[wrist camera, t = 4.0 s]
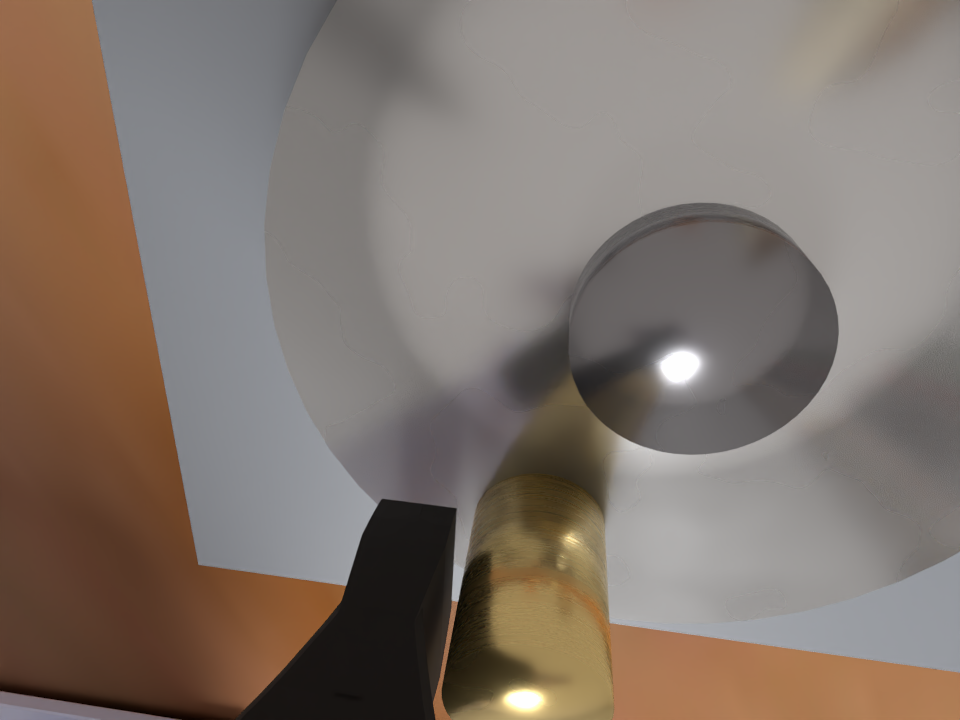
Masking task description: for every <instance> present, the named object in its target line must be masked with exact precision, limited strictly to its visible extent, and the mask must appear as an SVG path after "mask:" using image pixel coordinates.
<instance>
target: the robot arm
mask: <svg viewBox="0 0 960 720" xmlns="http://www.w3.org/2000/svg"><path fill="white" fill-rule="evenodd" d="M456 513H457V508H452V507H445V506H437V505H429V504H421V503H413V502H405V501H397V500H389V499H381V501H380V502H379V504H378V506H377V507H376V509H375V511H374V513H373V514H372V516H371V518H370V520H369V522H368V524H367V526H366V528H365V530H364V532H363V534H362V536H361V540H360V543H359V546H358V549H357V552H356V556H355V559H354V562H353V565H352V569H351V572H350V575H349V578H348V582H347V585H346V589H345V592H344V595H343V599H342V601H341V603H340V604H339V605H338V606H337V608H336V609H335V610H334V612H333V613H332V614H331V615H330V616H329V618H328V619H327V620H326V621H325V622H324V624H323V625H322V626H321V627H320V628H319V629H318V630H317V632H316V633H315V634H314V635H313V636H312V637H311V638H310V640H309V641H308V642H307V643H306V644H305V645H304V646H303V648H302V649H301V650H300V651H299V652H298V653H297V654H296V656H295V657H294V658H293V659H292V660H291V661H290V662H289V663H288V665H287V666H286V667H285V668H284V669H283V670H282V671H281V672H280V673H279V675H278V676H277V677H276V678H275V679H274V680H273V681H272V682H271V683H270V684H269V685H268V686H267V687H266V688H265V689H264V690H263V691H262V692H261V693H260V695H259V696H258V697H257V698H256V699H255V700H254V701H253V702H252V703H251V704H250V705H249V706H248V707H247V708H246V709H245V710H244V711H243V712H242V713H241V714H240V715H239V716H238V717H237V718H236V719H235V720H435V714H434V708H433V700H434V697H435V693H436V689H437V685H438V682H439V678H440V672H441V666H442V660H443V655H444V649H445V643H446V637H447V631H448V625H449V618H450V612H451V603H452V585H453V567H454V549H455V531H456ZM0 720H180V719H174V718H167V717H161V716H155V715H149V714H142V713H136V712H130V711H123V710H117V709H111V708H104V707H98V706H92V705H86V704H79V703H73V702H67V701H60V700H54V699H48V698H41V697H35V696H29V695H23V694H16V693H10V692H4V691H0Z"/></svg>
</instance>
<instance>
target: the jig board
mask: <svg viewBox="0 0 960 720" xmlns="http://www.w3.org/2000/svg"><path fill="white" fill-rule="evenodd" d="M336 1H337V0H92V3H93V9H94V14H95V19H96V24H97V30H98V35H99V40H100V46H101V51H102V56H103V61H104V67H105V72H106V77H107V83H108V88H109V93H110V99H111V104H112V109H113V114H114V120H115V125H116V130H117V136H118V141H119V146H120V151H121V157H122V162H123V167H124V173H125V178H126V183H127V189H128V194H129V199H130V204H131V210H132V215H133V220H134V226H135V231H136V236H137V242H138V247H139V252H140V257H141V263H142V268H143V273H144V279H145V284H146V289H147V294H148V300H149V305H150V310H151V316H152V321H153V326H154V332H155V337H156V342H157V347H158V353H159V358H160V363H161V369H162V374H163V379H164V385H165V390H166V395H167V400H168V406H169V411H170V416H171V422H172V427H173V432H174V437H175V443H176V448H177V453H178V459H179V464H180V469H181V475H182V480H183V485H184V490H185V496H186V501H187V506H188V512H189V517H190V522H191V527H192V533H193V538H194V543H195V549H196V554H197V559H198V565H204V566H211V567H218V568H225V569H232V570H239V571H246V572H253V573H260V574H267V575H275V576H282V577H289V578H296V579H303V580H310V581H317V582H324V583H331V584H338V585H345V586H346V585H347V582H348V578H349V575H350V572H351V569H352V565H353V562H354V559H355V556H356V552H357V549H358V546H359V543H360V540H361V536H362V534H363V532H364V530H365V528H366V526H367V524H368V522H369V520H370V518H371V516H372V514H373V513H374V511H375V509H376V507H377V506H378V505H377V504H376V503H375V502H374V501H373V500H372V499H371V498H370V497H369V496H368V495H367V494H366V493H365V492H364V491H363V490H362V489H361V488H360V487H359V486H358V485H357V483H356V482H355V481H354V479H353V478H352V477H351V476H350V474H349V473H348V472H347V471H346V469H345V468H344V467H343V466H342V464H341V463H340V462H339V461H338V459H337V458H336V457H335V455H334V454H333V453H332V452H331V450H330V449H329V447H328V446H327V444H326V442H325V441H324V439H323V437H322V436H321V434H320V432H319V431H318V429H317V428H316V426H315V424H314V423H313V421H312V419H311V418H310V416H309V415H308V413H307V411H306V409H305V406H304V404H303V402H302V400H301V398H300V395H299V393H298V391H297V389H296V387H295V384H294V382H293V380H292V378H291V376H290V373H289V371H288V368H287V365H286V362H285V358H284V355H283V352H282V349H281V345H280V342H279V339H278V336H277V332H276V329H275V326H274V321H273V315H272V309H271V303H270V297H269V291H268V285H267V279H266V261H265V230H264V222H265V212H266V202H267V193H268V183H269V173H270V166H271V162H272V158H273V154H274V150H275V146H276V142H277V138H278V134H279V130H280V126H281V121H282V117H283V113H284V110H285V108H286V105H287V103H288V100H289V98H290V95H291V92H292V90H293V87H294V85H295V82H296V80H297V77H298V75H299V72H300V70H301V67H302V65H303V62H304V60H305V57H306V55H307V52H308V51H309V49H310V47H311V45H312V44H313V42H314V40H315V38H316V37H317V35H318V33H319V31H320V29H321V28H322V26H323V24H324V22H325V21H326V19H327V17H328V15H329V14H330V12H331V10H332V8H333V7H334V5H335V3H336ZM463 573H464V568H463V567H461V566H459V565H457V564H455V563H454V567H453V585H452V601H458V600H459V595H460V589H461V584H462V578H463ZM609 620H610V623H614V624H621V625H628V626H635V627H642V628H649V629H656V630H663V631H671V632H678V633H685V634H692V635H699V636H706V637H713V638H720V639H727V640H734V641H741V642H748V643H755V644H762V645H770V646H777V647H784V648H791V649H798V650H805V651H812V652H819V653H826V654H833V655H840V656H847V657H854V658H861V659H869V660H876V661H883V662H890V663H897V664H904V665H911V666H918V667H925V668H932V669H939V670H946V671H953V672H960V552H959V553H957V554H955V555H953V556H952V557H950V558H948V559H947V560H944V561H942V562H940V563H938V564H936V565H934V566H932V567H929V568H927V569H925V570H923V571H921V572H919V573H917V574H915V575H912V576H910V577H908V578H906V579H904V580H902V581H899V582H897V583H894V584H891V585H888V586H886V587H883V588H880V589H877V590H875V591H872V592H869V593H866V594H864V595H861V596H858V597H855V598H853V599H849V600H845V601H841V602H838V603H834V604H830V605H826V606H823V607H819V608H815V609H811V610H807V611H803V612H797V613H792V614H786V615H780V616H774V617H769V618H763V619H757V620H745V621H733V622H721V623H657V622H646V621H635V620H624V619H617V618H611V617H609Z"/></svg>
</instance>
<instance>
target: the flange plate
mask: <svg viewBox="0 0 960 720" xmlns="http://www.w3.org/2000/svg"><path fill="white" fill-rule="evenodd" d="M264 230H265V261H266V279H267V285H268V291H269V297H270V303H271V309H272V315H273V321H274V326H275V329H276V332H277V336H278V339H279V342H280V345H281V349H282V352H283V355H284V358H285V362H286V365H287V368H288V371H289V373H290V376H291V378H292V380H293V382H294V384H295V387H296V389H297V391H298V393H299V395H300V398H301V400H302V402H303V404H304V406H305V409H306V411H307V413H308V415H309V416H310V418H311V419H312V421H313V423H314V424H315V426H316V428H317V429H318V431H319V432H320V434H321V436H322V437H323V439H324V441H325V442H326V444H327V446H328V447H329V449H330V450H331V452H332V453H333V454H334V455H335V457H336V458H337V459H338V461H339V462H340V463H341V464H342V466H343V467H344V468H345V469H346V471H347V472H348V473H349V474H350V476H351V477H352V478H353V479H354V481H355V482H356V483H357V485H358V486H359V487H360V488H361V489H362V490H363V491H364V492H365V493H366V494H367V495H368V496H369V497H370V498H371V499H372V500H373V501H374V502H375V503H376V504H377V505H378V504H379V502H380V501H381V499H389V500H397V501H405V502H413V503H421V504H429V505H437V506H445V507H452V508H457V513H456V531H455V549H454V563H455V564H457V565H459V566H461V567H463V568H464V573H463V578H462V584H461V589H460V595H459V600H458V605H457V611H456V616H455V621H454V627H453V632H452V637H451V643H450V648H449V653H448V659H447V664H446V669H445V675H444V680H443V686H442V700H443V704H444V707H445V709H446V711H447V713H448V715H449V716H450V718H451V719H452V720H612V718H613V714H614V697H613V678H612V659H611V639H610V620H609V617H611V618H617V619H624V620H635V621H646V622H657V623H721V622H733V621H745V620H757V619H763V618H769V617H774V616H780V615H786V614H792V613H797V612H803V611H807V610H811V609H815V608H819V607H823V606H826V605H830V604H834V603H838V602H841V601H845V600H849V599H853V598H855V597H858V596H861V595H864V594H866V593H869V592H872V591H875V590H877V589H880V588H883V587H886V586H888V585H891V584H894V583H897V582H899V581H902V580H904V579H906V578H908V577H910V576H912V575H915V574H917V573H919V572H921V571H923V570H925V569H927V568H929V567H932V566H934V565H936V564H938V563H940V562H942V561H944V560H947V559H948V558H950V557H952V556H953V555H955V554H957V553H959V552H960V0H337V1H336V3H335V5H334V7H333V8H332V10H331V12H330V14H329V15H328V17H327V19H326V21H325V22H324V24H323V26H322V28H321V29H320V31H319V33H318V35H317V37H316V38H315V40H314V42H313V44H312V45H311V47H310V49H309V51H308V52H307V55H306V57H305V60H304V62H303V65H302V67H301V70H300V72H299V75H298V77H297V80H296V82H295V85H294V87H293V90H292V92H291V95H290V98H289V100H288V103H287V105H286V108H285V110H284V113H283V117H282V121H281V126H280V130H279V134H278V138H277V142H276V146H275V150H274V154H273V158H272V162H271V166H270V173H269V183H268V193H267V202H266V212H265V222H264Z"/></svg>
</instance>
